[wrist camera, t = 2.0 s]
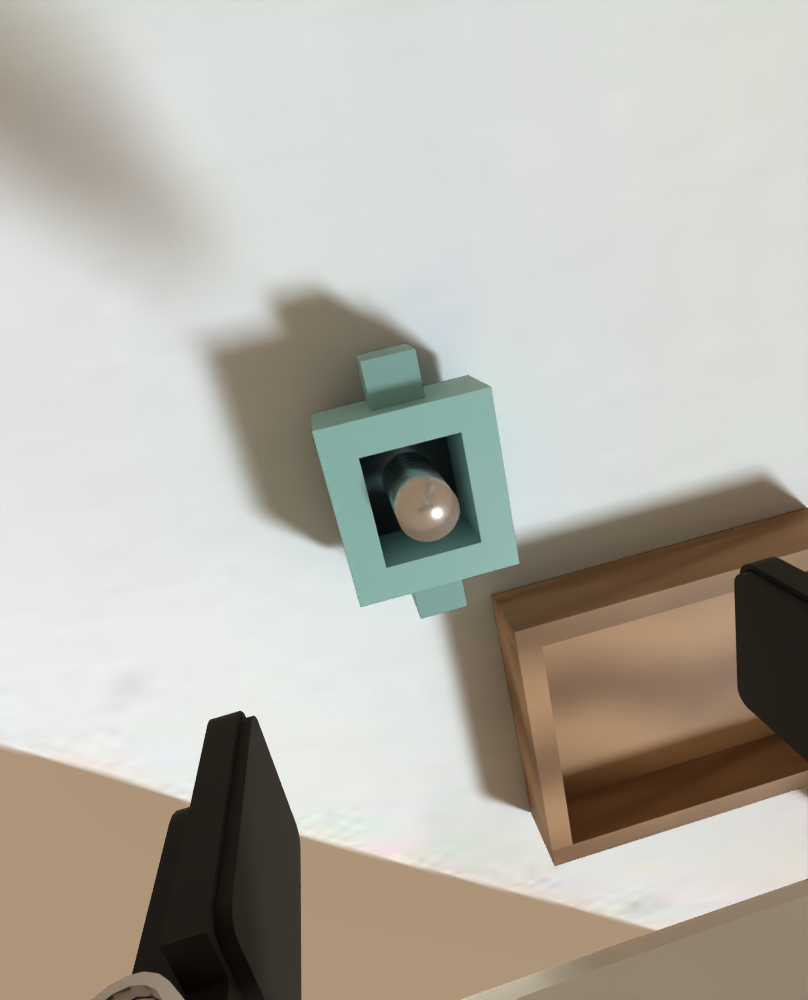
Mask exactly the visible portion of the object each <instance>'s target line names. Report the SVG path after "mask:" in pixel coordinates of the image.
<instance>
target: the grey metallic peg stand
mask: <svg viewBox="0 0 808 1000" xmlns="http://www.w3.org/2000/svg"><path fill="white" fill-rule="evenodd" d="M359 461H360V465H361V469H362V473H363V477H364V481H365V485H366V489H367V493H368V497H369V501H370V505H371V509H372V513H373V517H374V521H375V525H376V529H377V533H378V536H381V535H385V534H388V533H392V532H396V531H400V530H403V531H404V532H405V534H407V535H408V536H409V537H411V538H412V539H415V540H417V541H422V542H431V541H435V540H439V539H441V538H443V537H444V536H446V535H447V534H448V533H450V532H451V531H452V529H453V528H454V527H455V525H456V523H457V521H458V518H459V515H460V514H461V510H460V505H459V500H458V495H457V489H456V484H455V479H454V474H453V469H452V464H451V458H450V453H449V448H448V443H447V438H446V436H445V437H441V438H437V439H433V440H429V441H425V442H421V443H417V444H413V445H409V446H405V447H401V448H397V449H393V450H389V451H385V452H382V453H378V454H374V455H370V456H366V457H362V458H359Z"/></svg>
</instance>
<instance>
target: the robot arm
mask: <svg viewBox="0 0 808 1000" xmlns="http://www.w3.org/2000/svg"><path fill="white" fill-rule="evenodd" d="M734 597H735V629H736V662H737V688H738V693H739V696H740V698H741V700H742V702H743V703H744V704H745V706H746V707H747V708H748V709H749V710H750V711H751V712H753V713H754V714H755V715H756V716H757V717H758V718H759V719H760V720H762V721H763V722H764V723H765V724H766V725H767V726H768V727H769V728H770V729H772V730H773V731H774V732H775V733H776V734H777V735H778V736H779V737H781V738H782V739H783V740H784V741H785V742H786V743H787V744H788V745H789V746H791V747H792V748H793V749H794V750H795V751H796V752H797V753H798V754H800V755H801V756H802V757H803V758H804V759H805V760H806V761H807V762H808V573H806V572H805V571H803V570H801V569H799V568H797V567H795V566H793V565H791V564H789V563H787V562H785V561H784V560H782V559H780V558H777V557H769V558H765V559H762V560H759V561H755V562H752V563H748V564H745V565H744V566H742V567H741V569H740V574H738V575H737V576H736V577H735V579H734ZM300 870H301V867H300V839H299V833H298V829H297V825H296V822H295V820H294V817H293V814H292V812H291V809H290V806H289V804H288V801H287V798H286V795H285V793H284V790H283V787H282V785H281V782H280V779H279V777H278V774H277V771H276V769H275V766H274V763H273V760H272V758H271V755H270V752H269V750H268V747H267V744H266V742H265V739H264V736H263V733H262V731H261V728H260V725H259V723H258V720H257V718H256V717H255V716H251V717H247V718H246V717H245V715H244V713H243V712H242V711H238V712H235V713H231V714H228V715H224V716H221V717H218V718H214V719H211V720H210V721H209V722H208V725H207V729H206V734H205V739H204V743H203V748H202V753H201V758H200V762H199V767H198V772H197V776H196V781H195V786H194V790H193V795H192V800H191V804H190V807H188V808H185V809H181V810H178V811H176V812H175V813H174V814H173V815H172V818H171V820H170V823H169V827H168V831H167V835H166V839H165V843H164V847H163V852H162V855H161V859H160V863H159V867H158V871H157V875H156V880H155V884H154V888H153V892H152V896H151V900H150V904H149V908H148V912H147V916H146V920H145V924H144V928H143V932H142V936H141V940H140V944H139V949H138V953H137V956H136V961H135V965H134V969H133V973H132V975H128V976H126V977H123V978H122V979H120V980H118V981H116V982H114V983H112V984H110V985H109V986H107V987H106V988H105V989H104V990H102V992H100V993H99V994H98V995H97V996H95V997H94V998H93V999H91V1000H301V879H300V878H301V871H300ZM462 1000H808V879H806V880H803V881H800V882H797V883H794V884H791V885H788V886H785V887H782V888H780V889H777V890H774V891H771V892H768V893H765V894H762V895H759V896H756V897H753V898H750V899H748V900H745V901H742V902H739V903H736V904H733V905H730V906H727V907H724V908H721V909H718V910H716V911H713V912H710V913H707V914H704V915H701V916H698V917H695V918H692V919H690V920H687V921H684V922H681V923H678V924H675V925H672V926H669V927H666V928H664V929H661V930H658V931H655V932H652V933H649V934H646V935H644V936H641V937H638V938H635V939H632V940H629V941H626V942H623V943H621V944H617V945H615V946H612V947H609V948H606V949H603V950H600V951H597V952H595V953H592V954H589V955H586V956H583V957H580V958H578V959H575V960H572V961H569V962H567V963H563V964H561V965H558V966H555V967H552V968H549V969H546V970H543V971H541V972H538V973H535V974H532V975H529V976H526V977H524V978H521V979H518V980H515V981H512V982H510V983H507V984H504V985H501V986H498V987H495V988H492V989H489V990H487V991H484V992H481V993H478V994H475V995H473V996H470V997H467V998H464V999H462Z"/></svg>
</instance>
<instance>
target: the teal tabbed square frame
mask: <svg viewBox="0 0 808 1000" xmlns="http://www.w3.org/2000/svg"><path fill="white" fill-rule="evenodd" d="M355 358H356V363H357V367H358V371H359V375H360V379H361V384H362V388H363V392H364V396H365V401H361V402H357V403H353V404H349V405H345V406H341V407H337V408H332V409H328V410H324V411H320V412H316V413H312V414H310V415H311V427H312V434H313V437H314V441H315V445H316V448H317V452H318V456H319V459H320V463H321V466H322V470H323V474H324V477H325V481H326V484H327V488H328V492H329V495H330V499H331V502H332V506H333V510H334V513H335V517H336V521H337V524H338V528H339V531H340V535H341V539H342V542H343V546H344V549H345V553H346V557H347V560H348V564H349V568H350V571H351V575H352V578H353V582H354V586H355V589H356V593H357V596H358V600H359V604H360V607H363V606H367V605H371V604H374V603H378V602H382V601H385V600H389V599H393V598H396V597H400V596H404V595H407V594H411V593H412V596H413V599H414V601H415V604H416V607H417V610H418V612H419V615H420V618H421V619H422V618H426V617H429V616H433V615H437V614H440V613H444V612H447V611H451V610H455V609H458V608H462V607H465V606H467V602H466V597H465V592H464V587H463V582H462V579H466V578H469V577H473V576H477V575H480V574H484V573H488V572H491V571H495V570H498V569H502V568H506V567H509V566H513V565H517V564H519V558H518V551H517V545H516V539H515V533H514V526H513V520H512V514H511V508H510V501H509V495H508V489H507V483H506V477H505V470H504V464H503V458H502V452H501V445H500V439H499V433H498V427H497V420H496V414H495V408H494V402H493V396H492V389H491V387H490V386H488V385H486V384H484V383H482V382H480V381H479V380H477V379H475V378H473V377H471V376H469V375H467V376H463V377H458V378H454V379H450V380H446V381H442V382H438V383H434V384H430V385H426V386H423V384H422V379H421V374H420V369H419V364H418V359H417V354H416V349H415V348H413V347H411V346H409V345H407V344H405V343H404V344H400V345H396V346H392V347H388V348H383V349H379V350H375V351H371V352H367V353H363V354H358V355H355ZM445 436H446V438H447V443H448V448H449V453H450V458H451V464H452V469H453V474H454V479H455V484H456V489H457V495H458V500H459V505H460V510H461V514H460V515H459V518H458V521H457V523H456V525H455V527H454V528H453V529H452V531H451V532H450V533H448V534H447V535H446V536H444V537H443V538H441V539H439V540H435V541H431V542H422V541H417V540H415V539H412V538H411V537H409V536H408V535H407V534H405V532H404V531H403V530H400V531H396V532H392V533H388V534H385V535H381V536H378V533H377V529H376V525H375V521H374V517H373V513H372V509H371V505H370V501H369V497H368V493H367V489H366V485H365V481H364V477H363V473H362V469H361V465H360V461H359V458H362V457H366V456H370V455H374V454H378V453H382V452H385V451H389V450H393V449H397V448H401V447H405V446H409V445H413V444H417V443H421V442H425V441H429V440H433V439H437V438H441V437H445Z"/></svg>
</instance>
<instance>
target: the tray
mask: <svg viewBox="0 0 808 1000" xmlns="http://www.w3.org/2000/svg"><path fill="white" fill-rule="evenodd" d="M769 557H777V558H780V559H782V560H784V561H785V562H787V563H789V564H791V565H793V566H795V567H797V568H799V569H801V570H803V571H805V572H806V573H808V508H805V509H801V510H797V511H794V512H790V513H787V514H783V515H779V516H776V517H772V518H769V519H765V520H761V521H758V522H754V523H751V524H747V525H743V526H740V527H736V528H733V529H729V530H725V531H722V532H718V533H714V534H711V535H707V536H704V537H700V538H696V539H693V540H689V541H686V542H682V543H678V544H675V545H671V546H668V547H664V548H660V549H657V550H653V551H650V552H646V553H642V554H639V555H635V556H632V557H628V558H624V559H621V560H617V561H614V562H610V563H606V564H603V565H599V566H596V567H592V568H588V569H585V570H581V571H578V572H574V573H570V574H567V575H563V576H559V577H556V578H552V579H549V580H545V581H541V582H538V583H534V584H531V585H527V586H523V587H520V588H516V589H513V590H509V591H505V592H502V593H498V594H495V595H491V596H492V601H493V607H494V612H495V618H496V623H497V629H498V634H499V640H500V645H501V650H502V656H503V661H504V667H505V672H506V678H507V683H508V689H509V694H510V699H511V705H512V710H513V716H514V721H515V727H516V732H517V738H518V743H519V749H520V754H521V759H522V765H523V770H524V776H525V781H526V787H527V792H528V798H529V803H530V808H531V814H532V816H533V818H534V820H535V823H536V825H537V827H538V829H539V832H540V834H541V836H542V839H543V841H544V843H545V845H546V848H547V850H548V852H549V854H550V857H551V859H552V861H553V863H554V866H557V865H560V864H563V863H566V862H570V861H573V860H576V859H579V858H582V857H585V856H588V855H592V854H595V853H598V852H601V851H604V850H607V849H610V848H614V847H617V846H620V845H623V844H626V843H629V842H632V841H636V840H639V839H642V838H645V837H648V836H651V835H655V834H658V833H661V832H664V831H667V830H670V829H673V828H677V827H680V826H683V825H686V824H689V823H692V822H695V821H699V820H702V819H705V818H708V817H711V816H714V815H717V814H721V813H724V812H727V811H730V810H733V809H736V808H740V807H743V806H746V805H749V804H752V803H755V802H758V801H762V800H765V799H768V798H771V797H774V796H777V795H780V794H784V793H787V792H790V791H793V790H796V789H799V788H802V787H806V786H808V762H807V761H806V760H805V759H804V758H803V757H802V756H801V755H800V754H798V753H797V752H796V751H795V750H794V749H793V748H792V747H791V746H789V745H788V744H787V743H786V742H785V741H784V740H783V739H782V738H781V737H779V736H778V735H777V734H776V733H775V732H774V731H773V730H772V729H770V728H769V727H768V726H767V725H766V724H765V723H764V722H763V721H762V720H760V719H759V718H758V717H757V716H756V715H755V714H754V713H753V712H751V711H750V710H749V709H748V708H747V707H746V706H745V704H744V703H743V702H742V700H741V698H740V696H739V693H738V688H737V662H736V629H735V597H734V579H735V577H736V576H737V575H738V574H740V569H741V567H742V566H744V565H745V564H748V563H752V562H755V561H759V560H762V559H765V558H769Z"/></svg>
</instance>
